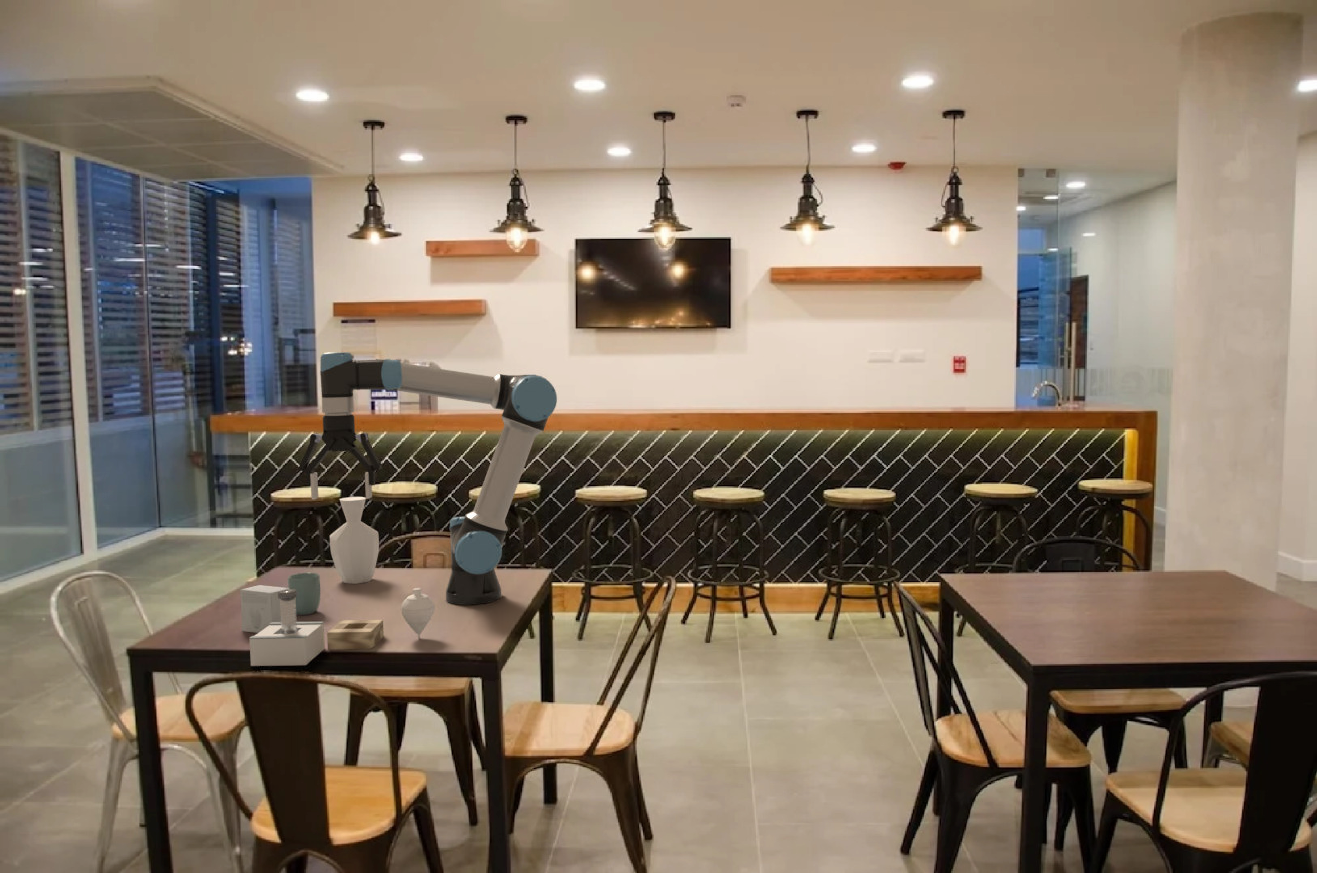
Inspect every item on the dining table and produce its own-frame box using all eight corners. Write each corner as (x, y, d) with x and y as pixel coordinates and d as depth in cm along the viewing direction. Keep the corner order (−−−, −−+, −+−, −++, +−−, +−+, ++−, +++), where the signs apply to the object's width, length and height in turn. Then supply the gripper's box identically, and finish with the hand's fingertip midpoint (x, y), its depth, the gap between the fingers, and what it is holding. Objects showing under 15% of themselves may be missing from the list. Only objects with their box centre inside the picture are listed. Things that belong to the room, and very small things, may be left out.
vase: (390, 577, 288) (387, 496, 286) (358, 588, 275) (354, 503, 273) (354, 573, 294) (350, 494, 292) (320, 583, 281) (316, 501, 279)
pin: (302, 653, 214) (299, 589, 213) (296, 659, 210) (292, 593, 209) (285, 654, 214) (281, 589, 213) (278, 659, 210) (274, 593, 209)
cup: (310, 617, 244) (308, 579, 243) (283, 616, 246) (281, 578, 245) (326, 609, 252) (325, 572, 251) (300, 608, 253) (298, 572, 253)
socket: (324, 648, 218) (323, 621, 217) (305, 665, 206) (304, 636, 206) (273, 648, 218) (271, 622, 217) (250, 665, 206) (249, 637, 206)
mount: (383, 635, 227) (383, 619, 227) (371, 648, 217) (370, 631, 217) (342, 636, 227) (341, 620, 227) (327, 649, 217) (327, 632, 217)
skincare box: (292, 628, 235) (290, 587, 234) (272, 635, 229) (270, 593, 228) (261, 624, 239) (259, 583, 238) (240, 631, 233) (238, 589, 232)
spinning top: (409, 632, 229) (407, 584, 228) (439, 633, 228) (438, 584, 227) (397, 642, 222) (395, 592, 221) (428, 643, 221) (427, 592, 220)
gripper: (392, 412, 239) (395, 495, 241) (294, 414, 239) (298, 496, 241) (384, 414, 232) (387, 499, 234) (282, 415, 232) (286, 501, 233)
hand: (342, 498), depth 237 cm, fingers open, 13 cm apart
